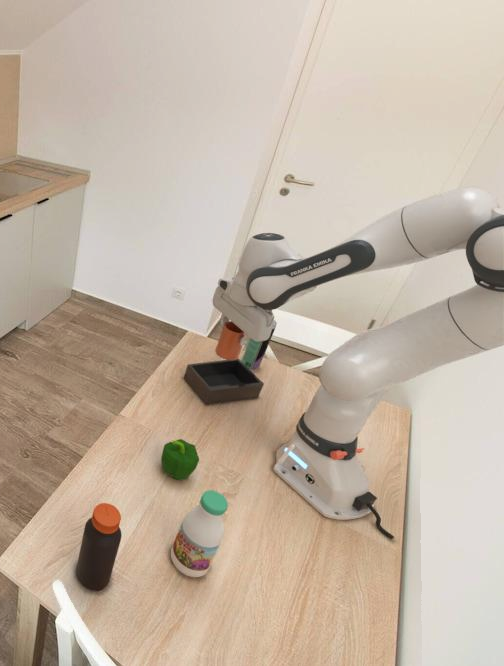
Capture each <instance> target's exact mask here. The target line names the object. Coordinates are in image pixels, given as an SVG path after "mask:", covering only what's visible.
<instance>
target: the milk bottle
mask: <svg viewBox="0 0 504 666" xmlns="http://www.w3.org/2000/svg"><path fill="white" fill-rule="evenodd" d="M228 506H229V502H228V500H227V499H226V497H225V496H224V495H223V494H222V493H220V492H218V491H216V490H206V491H204V492H203V493H202V495H201V497H200V500H199V503H198V505H196V506H194V507H192V508H191V509H190V510H189V511H188V512H187V513H186V514H185V515H184V517H183V519H182V521H181V523H180V526H179V528H178V531H177V533H176V536H175V539H174V541H173V544H172V547H171V550H170V558H171V561H172V563H173V565H174V567H175V568H176V569H177V570H178V571H179V572H180V573H182V574H183V575H185V576H187V577H191V578H198V577H203V576H205V575H206V574H207V573H208V571H209V570H210V568H211V566H212V564H213V561H214V560H215V557H216V555H217V553H218V551H219V550H220V547H221V545H222V542H223V539H224V536H225V523H224V519H223V516H225V514H226V512H227V509H228Z"/></svg>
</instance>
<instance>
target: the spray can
mask: <svg viewBox="0 0 504 666" xmlns="http://www.w3.org/2000/svg"><path fill="white" fill-rule="evenodd" d="M277 324H278V323H277V321H276V320H275V319H274V323H273V327H272V331H271V335H270V337H269V339H268V340H265V341H259V342H256V341H254V340H253V339H252V338H251V339H249V340H248V342H247V344H246V348H245V351H244V353H243V356H242V359H241V360H240V361H241V362H242V363H243V364H244V365H245V366H246V367H247V368H248V369H249V370H250V371H251V372H258V370H259V368H260V366H261V364H262V361H263V359H264V356H265V354H266V351H267V350H268V347H269V345H270V343H271V340H272V337H273V335H274V333H275V330H276V327H277Z"/></svg>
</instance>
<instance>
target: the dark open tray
mask: <svg viewBox="0 0 504 666" xmlns="http://www.w3.org/2000/svg"><path fill="white" fill-rule="evenodd" d="M241 361H242V360H240V359H239V358H238V359H236V360H226V359H221V360H214V361H206V362H197V363H189V364H187V366H186V369H185V372H184V375H183V379H184V381H185V382H186V383H187V384H188V385H189V387H190V388H191V389H192V390H193V392H194V393H195V394H196V396H197V397H198V398H199V399H200V400H201V401H202V403H203V404H204V405H205V406H209V405H216V404H223V403H230V402H231V403H232V402H237V401H244V400H251V399H259V396H260V395H261V393H262V389H263V388H264V385H265V383H264V382H263V381H262V380H261V379H260V378H259V377H258V376H257V375H256V374H254V373H253V371H250V370H249V369H248V368H247V367H246V366H245V365H244V364H243V363H242V362H241Z"/></svg>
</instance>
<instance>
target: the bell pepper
mask: <svg viewBox="0 0 504 666" xmlns="http://www.w3.org/2000/svg"><path fill="white" fill-rule="evenodd" d="M160 459H161V460H160V461H161V467H162V470H163V472H164V474H166V475H167V476H169V477H172V478H173V479H174V480H176V481H183V480H186V479H188V478H189V477H190V476H191V475H193V473H194V472H195V470H196V469H197V467H198V464H199V461H200V457H199V455H198V451H197V448H196V445H195V444H193V443H189V442H187V441H186V440H184V439H182V438H179V439H176V440H172V441H169V442H166V443H165V444H164V445H163V450H162V453H161V458H160Z"/></svg>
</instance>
